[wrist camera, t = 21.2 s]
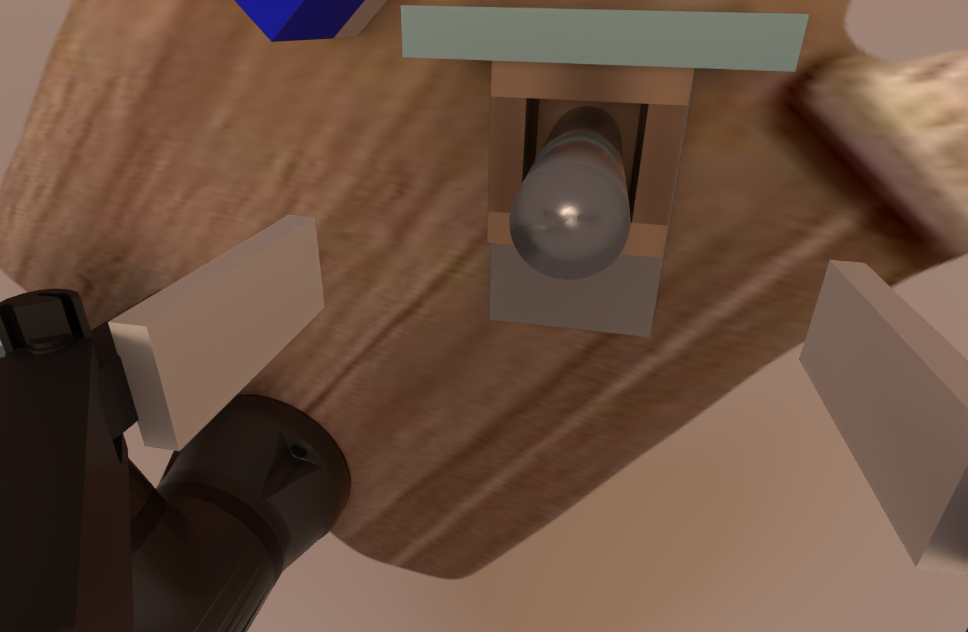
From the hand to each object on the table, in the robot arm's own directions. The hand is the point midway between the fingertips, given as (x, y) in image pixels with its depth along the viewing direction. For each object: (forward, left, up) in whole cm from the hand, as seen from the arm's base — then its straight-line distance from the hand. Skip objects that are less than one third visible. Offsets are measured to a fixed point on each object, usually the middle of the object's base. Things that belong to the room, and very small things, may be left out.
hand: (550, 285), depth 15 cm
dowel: (0, 0, -21) cm, 21 cm away
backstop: (0, -4, -23) cm, 23 cm away
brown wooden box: (0, 0, -22) cm, 22 cm away
